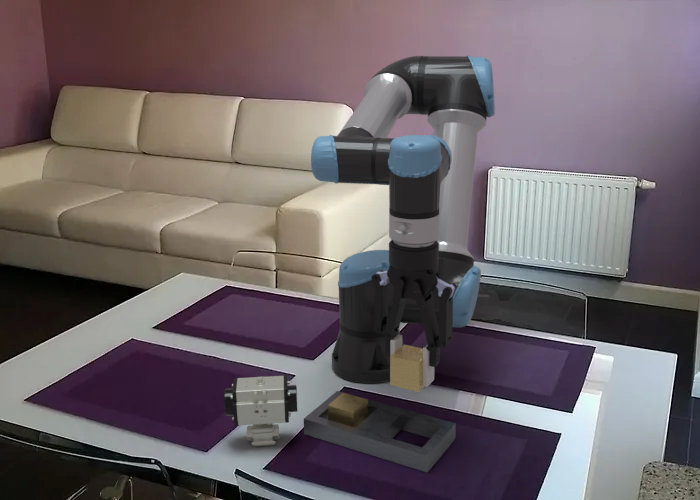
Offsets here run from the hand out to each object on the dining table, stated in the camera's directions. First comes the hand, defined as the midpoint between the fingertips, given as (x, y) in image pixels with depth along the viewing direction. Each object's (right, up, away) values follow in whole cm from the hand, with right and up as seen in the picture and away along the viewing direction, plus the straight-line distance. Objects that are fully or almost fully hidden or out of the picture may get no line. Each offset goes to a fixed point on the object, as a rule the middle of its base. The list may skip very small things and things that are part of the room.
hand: (412, 378), depth 126 cm
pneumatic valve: (-24, -12, +6) cm, 28 cm away
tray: (-5, -11, +7) cm, 14 cm away
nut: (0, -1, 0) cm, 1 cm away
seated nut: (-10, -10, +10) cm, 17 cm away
